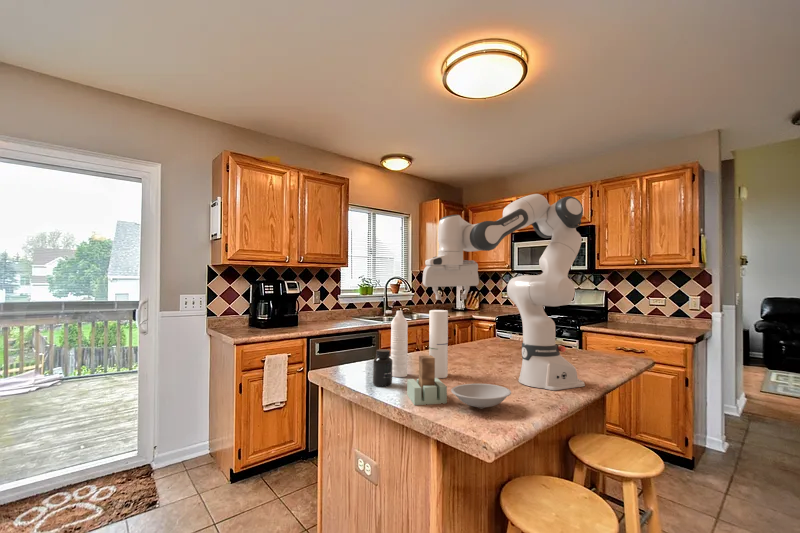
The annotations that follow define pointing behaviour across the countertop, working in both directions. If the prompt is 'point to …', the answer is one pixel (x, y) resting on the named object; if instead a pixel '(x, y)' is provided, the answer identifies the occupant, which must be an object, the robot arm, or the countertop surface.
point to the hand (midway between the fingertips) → (451, 299)
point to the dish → (481, 394)
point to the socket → (427, 392)
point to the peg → (426, 371)
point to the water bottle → (399, 344)
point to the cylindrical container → (439, 341)
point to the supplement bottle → (382, 368)
